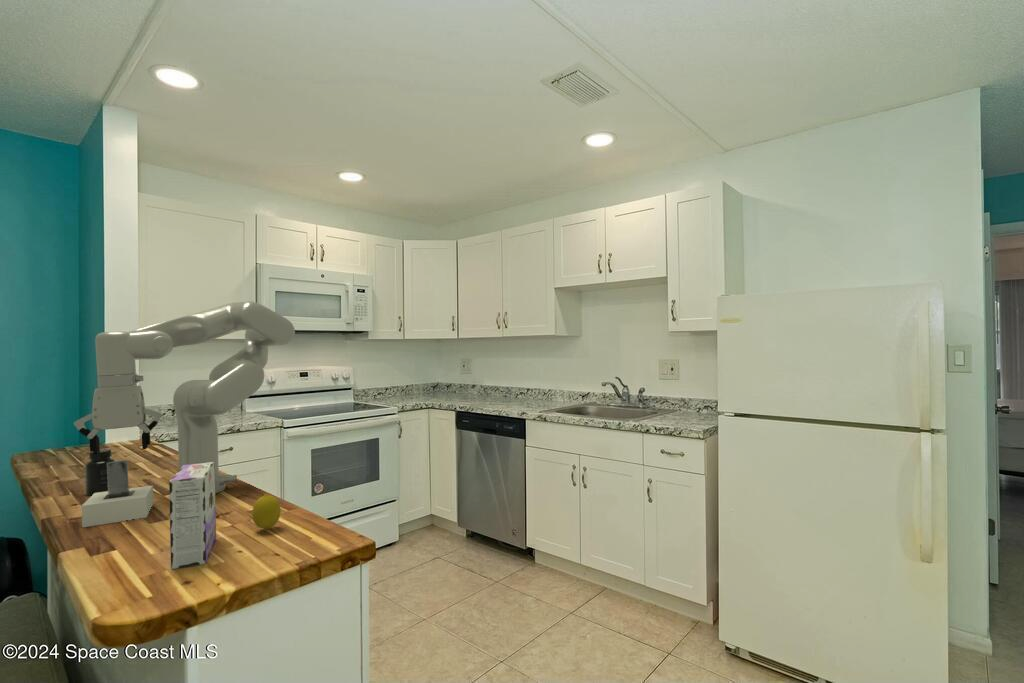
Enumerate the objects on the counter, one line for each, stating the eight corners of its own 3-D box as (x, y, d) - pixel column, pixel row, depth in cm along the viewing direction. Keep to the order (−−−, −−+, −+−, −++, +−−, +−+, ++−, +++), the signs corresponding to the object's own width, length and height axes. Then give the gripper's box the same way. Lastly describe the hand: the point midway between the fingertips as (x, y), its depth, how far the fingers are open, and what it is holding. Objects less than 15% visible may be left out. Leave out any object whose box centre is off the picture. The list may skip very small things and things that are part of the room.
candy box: (184, 543, 105) (182, 464, 105) (217, 538, 107) (215, 460, 107) (169, 570, 92) (167, 479, 92) (207, 564, 94) (204, 475, 94)
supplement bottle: (79, 495, 143) (78, 452, 143) (105, 488, 150) (104, 447, 150) (97, 496, 141) (96, 453, 141) (122, 489, 148) (121, 448, 148)
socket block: (153, 504, 132) (152, 485, 132) (146, 517, 122) (145, 496, 122) (94, 512, 127) (94, 492, 127) (82, 527, 116) (81, 505, 116)
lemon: (275, 524, 115) (274, 488, 115) (284, 530, 111) (283, 493, 111) (249, 531, 111) (248, 494, 111) (257, 537, 107) (256, 499, 107)
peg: (131, 507, 127) (128, 459, 127) (128, 511, 124) (125, 461, 124) (111, 510, 125) (108, 462, 125) (107, 514, 122) (105, 464, 122)
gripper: (161, 378, 132) (165, 443, 132) (76, 383, 124) (80, 453, 124) (157, 380, 125) (161, 448, 126) (67, 386, 117) (71, 459, 117)
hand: (121, 451), depth 125 cm, fingers open, 9 cm apart
